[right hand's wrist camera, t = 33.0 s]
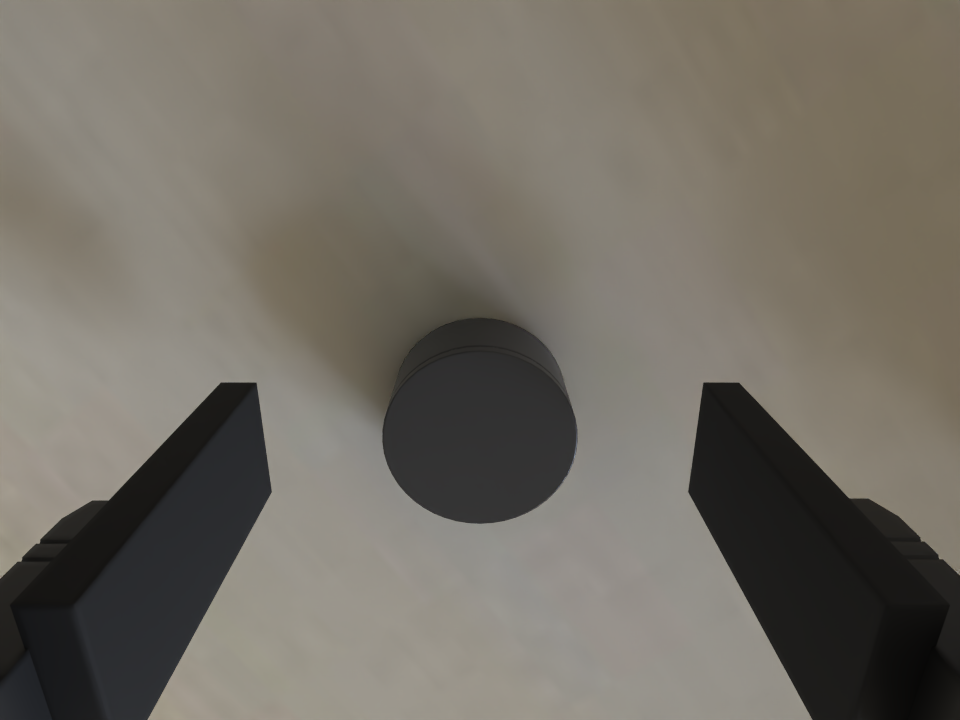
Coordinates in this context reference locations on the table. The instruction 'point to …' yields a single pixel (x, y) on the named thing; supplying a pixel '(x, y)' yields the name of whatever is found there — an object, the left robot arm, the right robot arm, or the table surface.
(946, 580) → the right robot arm
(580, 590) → the table surface
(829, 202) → the table surface
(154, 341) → the table surface
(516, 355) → the cap
